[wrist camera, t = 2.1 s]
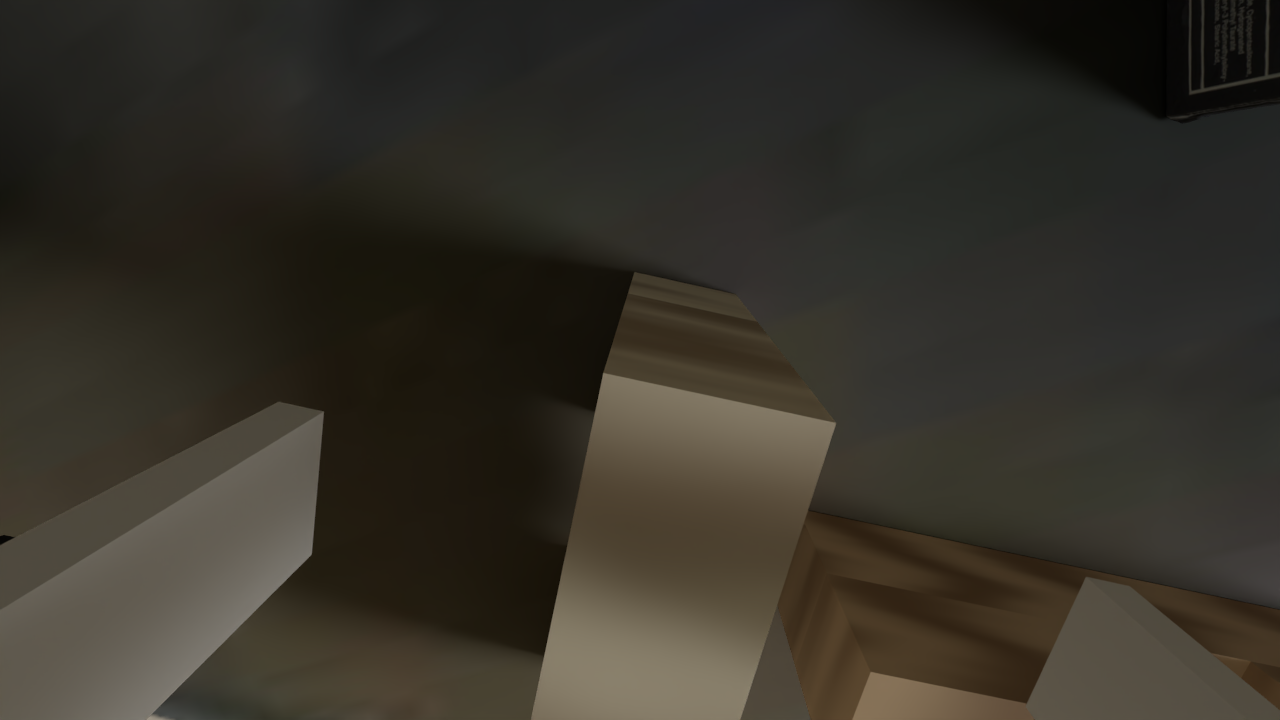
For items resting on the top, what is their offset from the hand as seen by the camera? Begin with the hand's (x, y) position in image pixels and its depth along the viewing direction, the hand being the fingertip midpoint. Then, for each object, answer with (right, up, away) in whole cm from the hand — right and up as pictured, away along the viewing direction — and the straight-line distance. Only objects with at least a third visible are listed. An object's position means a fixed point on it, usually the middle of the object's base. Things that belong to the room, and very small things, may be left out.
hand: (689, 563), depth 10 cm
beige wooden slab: (-1, -1, +12) cm, 12 cm away
